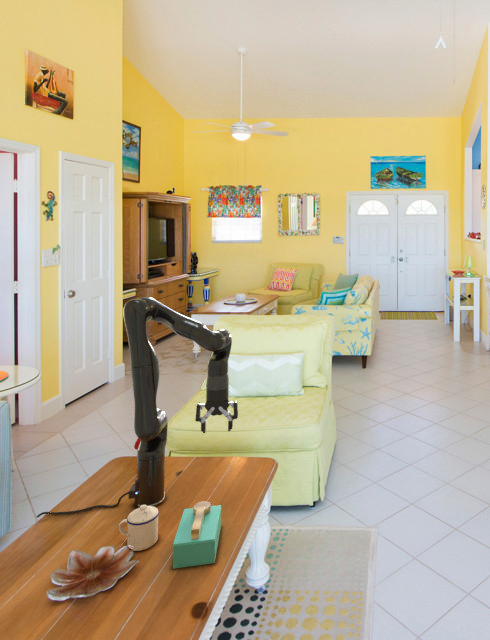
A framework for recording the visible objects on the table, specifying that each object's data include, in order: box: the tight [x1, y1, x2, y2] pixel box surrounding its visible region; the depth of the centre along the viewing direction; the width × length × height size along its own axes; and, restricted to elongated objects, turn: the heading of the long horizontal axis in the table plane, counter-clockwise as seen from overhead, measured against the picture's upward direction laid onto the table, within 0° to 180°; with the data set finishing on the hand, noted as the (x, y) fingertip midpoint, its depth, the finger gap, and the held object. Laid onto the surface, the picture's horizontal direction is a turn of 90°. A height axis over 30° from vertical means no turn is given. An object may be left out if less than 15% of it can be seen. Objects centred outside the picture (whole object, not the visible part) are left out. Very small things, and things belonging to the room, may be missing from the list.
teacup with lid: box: [118, 505, 160, 552], centre depth 147 cm, size 12×9×12 cm
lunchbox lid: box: [172, 504, 222, 548], centre depth 145 cm, size 18×12×1 cm, turn 13°
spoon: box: [191, 500, 212, 540], centre depth 146 cm, size 17×5×3 cm, turn 13°
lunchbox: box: [172, 509, 222, 569], centre depth 146 cm, size 18×12×7 cm, turn 13°
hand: (216, 431), depth 166 cm, fingers open, 8 cm apart
